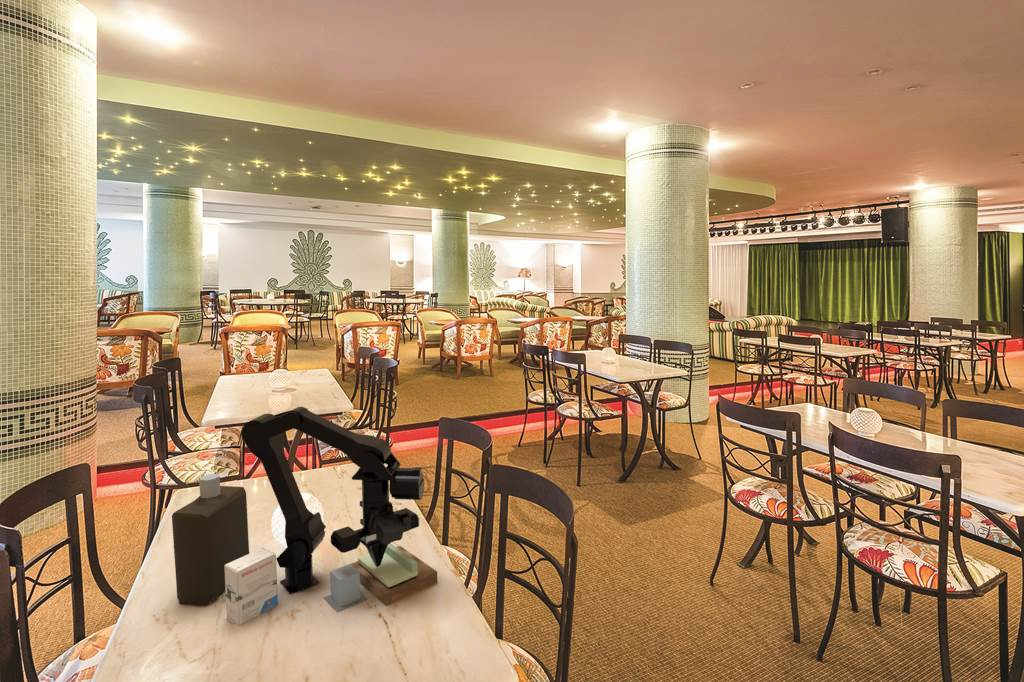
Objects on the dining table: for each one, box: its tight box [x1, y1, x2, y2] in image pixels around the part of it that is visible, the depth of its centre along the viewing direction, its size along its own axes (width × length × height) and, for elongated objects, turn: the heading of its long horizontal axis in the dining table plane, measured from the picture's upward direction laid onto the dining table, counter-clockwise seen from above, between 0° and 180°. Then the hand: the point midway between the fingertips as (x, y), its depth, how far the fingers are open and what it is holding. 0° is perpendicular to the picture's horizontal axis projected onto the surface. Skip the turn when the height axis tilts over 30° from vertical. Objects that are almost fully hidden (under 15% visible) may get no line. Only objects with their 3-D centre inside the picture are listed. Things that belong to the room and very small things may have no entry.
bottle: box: [171, 473, 250, 607], centre depth 119 cm, size 8×16×25 cm, turn 174°
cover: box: [357, 542, 418, 589], centre depth 121 cm, size 14×7×3 cm, turn 43°
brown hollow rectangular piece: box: [350, 545, 438, 606], centre depth 123 cm, size 16×13×3 cm
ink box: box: [224, 547, 279, 626], centre depth 110 cm, size 9×5×12 cm, turn 147°
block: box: [329, 563, 361, 607], centre depth 115 cm, size 4×4×6 cm
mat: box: [322, 591, 369, 613], centre depth 115 cm, size 7×7×1 cm
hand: (377, 565), depth 120 cm, fingers closed
